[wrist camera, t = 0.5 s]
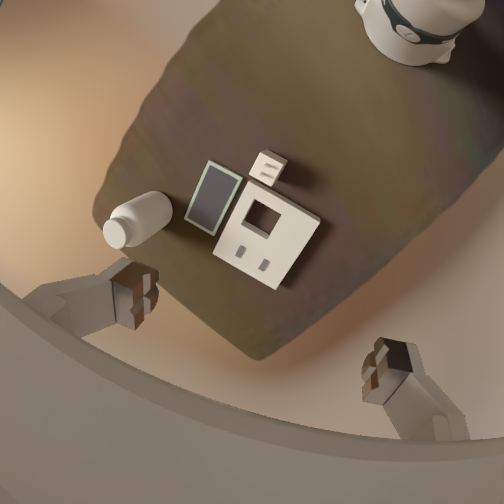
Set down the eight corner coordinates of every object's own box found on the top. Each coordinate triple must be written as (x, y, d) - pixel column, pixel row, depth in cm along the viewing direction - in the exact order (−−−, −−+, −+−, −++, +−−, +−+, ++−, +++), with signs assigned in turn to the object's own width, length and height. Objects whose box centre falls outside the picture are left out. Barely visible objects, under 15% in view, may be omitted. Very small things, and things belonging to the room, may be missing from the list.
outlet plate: (252, 178, 50) (248, 181, 48) (320, 218, 50) (320, 223, 48) (216, 248, 58) (211, 254, 55) (277, 283, 58) (275, 290, 55)
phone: (211, 159, 51) (208, 160, 50) (244, 176, 51) (242, 178, 50) (186, 216, 57) (183, 219, 56) (216, 233, 57) (213, 236, 56)
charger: (267, 149, 48) (258, 152, 41) (287, 160, 48) (282, 165, 41) (257, 169, 49) (246, 175, 43) (277, 180, 49) (269, 188, 43)
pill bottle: (168, 232, 59) (128, 263, 46) (138, 217, 59) (94, 243, 46) (178, 199, 55) (135, 224, 42) (146, 184, 56) (99, 204, 42)
